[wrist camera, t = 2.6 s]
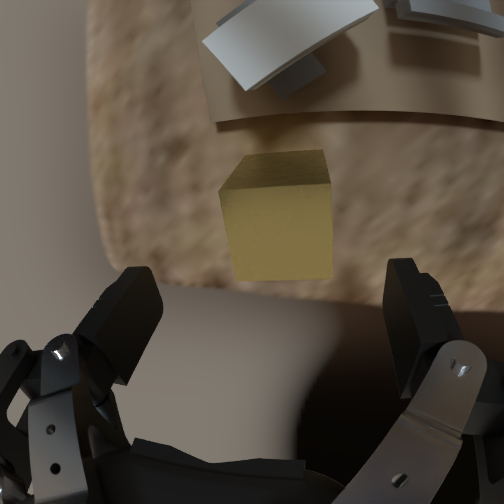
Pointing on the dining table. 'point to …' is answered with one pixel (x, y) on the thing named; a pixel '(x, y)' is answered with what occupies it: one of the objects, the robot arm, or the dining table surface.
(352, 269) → the dining table surface
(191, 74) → the dining table surface
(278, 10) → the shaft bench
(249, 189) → the block
